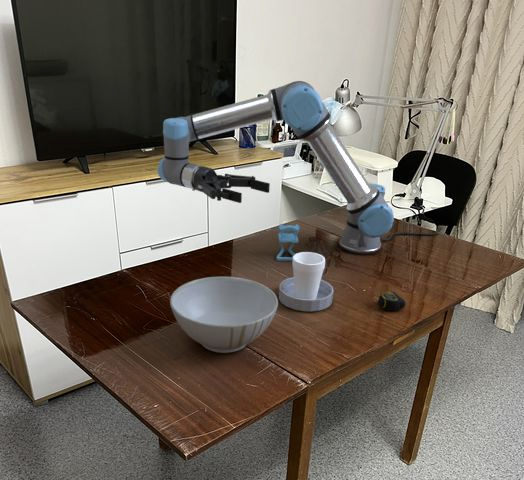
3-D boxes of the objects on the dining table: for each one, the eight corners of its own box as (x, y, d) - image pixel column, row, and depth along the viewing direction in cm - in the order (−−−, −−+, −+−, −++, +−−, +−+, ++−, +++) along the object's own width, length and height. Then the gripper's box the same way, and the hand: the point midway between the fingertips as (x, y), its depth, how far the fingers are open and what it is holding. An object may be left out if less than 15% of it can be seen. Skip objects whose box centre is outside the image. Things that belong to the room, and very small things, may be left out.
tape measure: (405, 311, 162) (407, 300, 159) (384, 313, 160) (386, 302, 158) (393, 300, 167) (395, 289, 165) (373, 303, 165) (375, 292, 163)
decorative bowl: (265, 376, 130) (268, 332, 124) (157, 361, 134) (154, 317, 127) (282, 322, 153) (285, 282, 146) (189, 310, 156) (187, 271, 150)
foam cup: (284, 294, 167) (287, 253, 160) (311, 289, 170) (315, 250, 163) (298, 308, 159) (302, 266, 152) (326, 303, 163) (331, 262, 156)
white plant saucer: (309, 284, 174) (310, 272, 172) (342, 304, 163) (344, 292, 161) (268, 295, 166) (269, 283, 164) (300, 317, 155) (301, 305, 153)
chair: (296, 251, 196) (299, 219, 190) (298, 260, 189) (301, 227, 183) (275, 250, 196) (277, 218, 190) (276, 260, 189) (278, 226, 183)
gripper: (225, 182, 180) (278, 196, 170) (172, 199, 163) (227, 215, 153) (225, 159, 176) (280, 171, 166) (171, 173, 159) (228, 188, 149)
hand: (255, 193), depth 159 cm, fingers open, 13 cm apart
